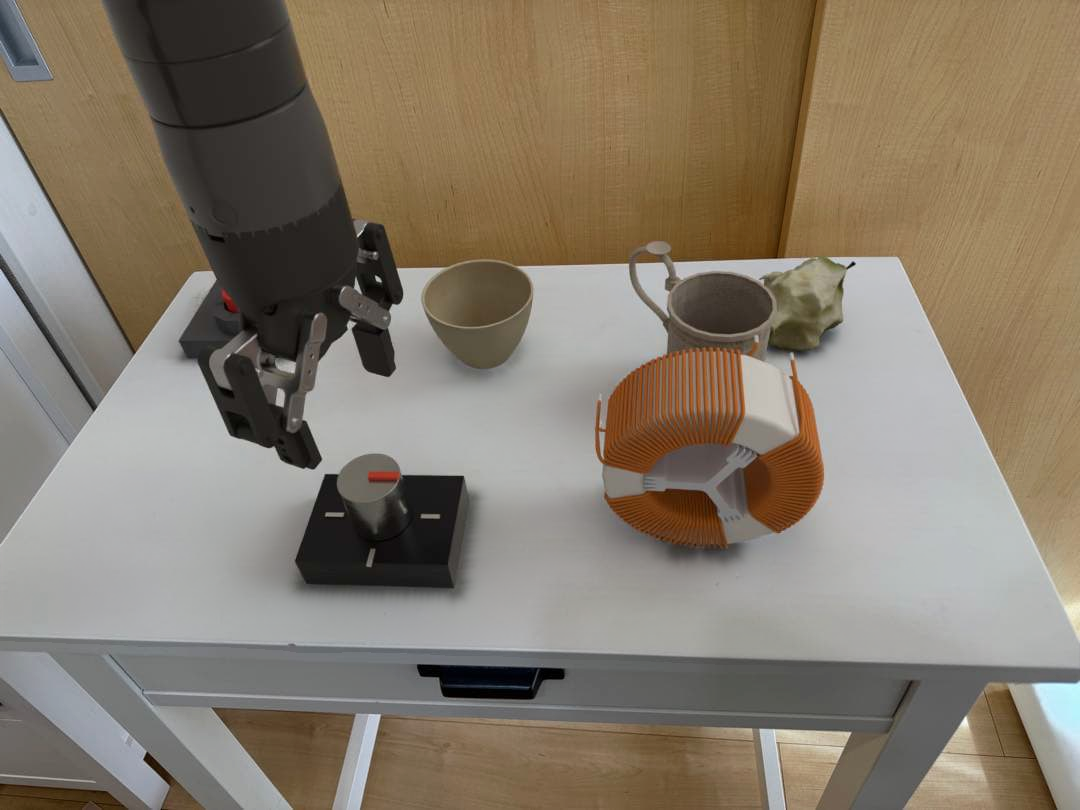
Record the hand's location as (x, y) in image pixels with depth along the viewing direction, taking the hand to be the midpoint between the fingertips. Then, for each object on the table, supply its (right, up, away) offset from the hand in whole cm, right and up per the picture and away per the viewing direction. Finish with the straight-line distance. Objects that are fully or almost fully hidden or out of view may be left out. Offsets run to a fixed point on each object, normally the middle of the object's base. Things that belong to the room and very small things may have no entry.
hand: (345, 414), depth 49 cm
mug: (+26, +3, +20) cm, 33 cm away
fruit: (+36, +8, +24) cm, 44 cm away
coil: (+24, -8, +9) cm, 27 cm away
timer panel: (+1, -10, +9) cm, 14 cm away
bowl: (+7, +6, +24) cm, 26 cm away
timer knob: (+1, -8, +7) cm, 10 cm away
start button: (-16, +11, +26) cm, 33 cm away
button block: (-17, +9, +30) cm, 36 cm away
